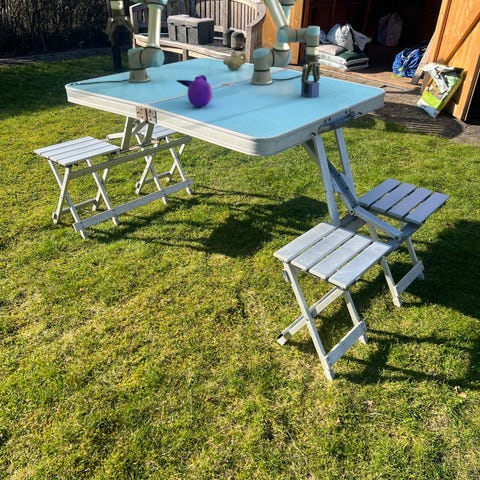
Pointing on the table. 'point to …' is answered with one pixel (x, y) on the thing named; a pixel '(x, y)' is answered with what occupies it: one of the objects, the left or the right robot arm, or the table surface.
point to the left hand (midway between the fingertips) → (122, 45)
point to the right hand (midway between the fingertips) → (309, 92)
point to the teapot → (235, 61)
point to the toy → (198, 91)
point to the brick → (311, 89)
